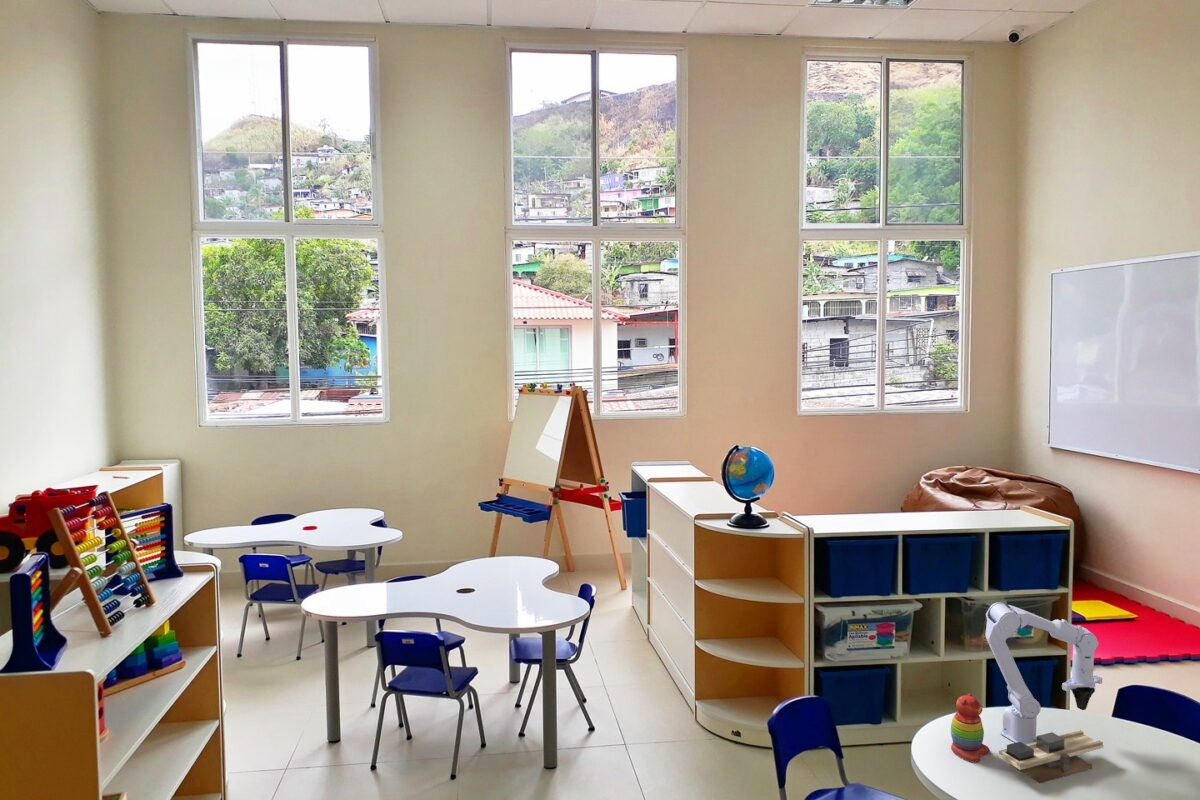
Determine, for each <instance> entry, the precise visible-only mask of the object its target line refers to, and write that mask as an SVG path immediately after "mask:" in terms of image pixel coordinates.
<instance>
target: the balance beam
mask: <svg viewBox="0 0 1200 800" xmlns="http://www.w3.org/2000/svg"><path fill="white" fill-rule="evenodd" d="M1059 736H1060V737H1062V738H1064V739H1065V740H1064V750H1061V751H1057V752H1053V753H1049V754H1047V753H1045V752H1044V751H1042V750H1040V749H1039V748H1037V747H1036V743H1037V742H1033V743H1029V744H1025V745H1027V746H1029V747H1030V748H1032V749H1034V758H1030V759H1026V760H1022V761H1018V760H1016V759H1014V758H1013V757H1011V756H1010V755H1008V754H1007V748H1006V749H1002V750H998V757H999V758H1000V759H1002V760H1003V761H1005V762H1006V763H1008V764H1009V765H1010V764H1011V765H1010V766H1012V765H1013V766H1015V767H1016V768H1015V767H1014V768H1015V769H1017V768H1018V769H1019V770H1018V769H1017V770H1018V771H1020V770H1022V769H1025V768H1029V767H1033V766H1037V765H1041V764H1044V763H1048V762H1052V761H1056V760H1060V759H1061V755H1063V754H1068V755H1069V756H1070V757H1071V756H1075V755H1076V756H1077V755H1083V754H1086V753H1089V752H1090V753H1091V752H1093V751H1096V750H1097V751H1098V750H1101V749H1104V742H1103V741H1102V740H1094V739H1093V738H1091V737H1090V736H1087V735H1085V734H1084V731H1083V730H1078V731H1077V730H1076V731H1073V732H1069V733H1065V734H1061V735H1059ZM1013 766H1012V767H1013Z"/></svg>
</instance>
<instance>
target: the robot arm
mask: <svg viewBox="0 0 1200 800" xmlns="http://www.w3.org/2000/svg"><path fill="white" fill-rule="evenodd" d="M985 616H986V628H985V638H986V641H987V643H988V646H989V648H990V650H991V652H992V654H993V656H994V658H995V662H996V663H997V665H998V667H999V670H1000V672H1001V674H1002V676H1003V678H1004V680H1005V683H1006V684H1007V686H1006V689H1007V691H1008V696H1007V698H1008V700H1009V702H1010V703H1011V705H1009V706H1007V707H1005V708H1004V711H1003V714H1002V731H1001V732H1000V735H1001V736H1003V737H1005V738H1007V739H1008V740H1010V741H1011V742H1013V743H1016V742H1022V743H1023V744H1029V743H1033V742H1034V739H1037V722H1038V721H1037V717H1038V716H1039V714H1040V713H1041V709H1042V708H1041V704H1040V702H1039V701H1037V699H1035V698H1034V696H1033V694H1032V693H1031V691H1030V690H1029V688H1028V686H1027V685H1026V683H1025V681H1024V679H1023V676H1022V675H1021V672H1020V670H1019V668H1018V666H1017V664H1016V662H1015V659H1014V657H1013V655H1012V653H1011V651H1010V648H1009V647H1008V644H1007V642H1006V641H1007V639H1008V638H1010V636H1012V635H1013V634H1014V633H1015V632H1016V631H1017V630H1018V629H1019V628H1020V629H1023V628H1024V627H1026V626H1031V627H1034V628H1036V629H1039V630H1043V631H1046V632H1048V633H1049V634H1050V636H1051V638H1054V639H1056V640H1059V641H1062V642H1066V643H1068V644H1070V645H1072V666H1071V670H1072V671H1071V678H1069V679H1068V680H1066V681H1065V682H1062V685H1061V689H1062V690H1063V691H1066V692H1070V691H1071V693H1072V695H1073V697H1074V700H1075V704H1076V708H1078V709H1079V710H1081V711H1085V710H1087V707H1088V704H1089V702H1090V700H1091V697H1092V696H1093V694H1094V693H1095V692H1096V684H1099V685H1101V684H1103V677H1102V676H1099V675H1097V674H1096V675H1094V665H1095V664H1094V661H1095V659H1094V658H1095V650H1096V649H1097V648H1098V646H1099V641H1098V639H1097V637H1096V635H1095V634H1094V633H1092V632H1091V631H1089V629H1087V628H1086V627H1083V626H1082V625H1079V624H1077V625H1075V624H1071V623H1069V622H1068V621H1067V620H1066V619H1063V618H1062V619H1061V620H1060V619H1054V620H1052V621H1051V620H1050V619H1046V618H1044V617H1042V616H1039V615H1036V614H1034V613H1032V612H1030V611H1027V610H1025V609H1022V608H1019V607H1017V606H1014V605H1011V604H1005V603H1004V602H1001V601H1000V602H999V601H998V602H995V603H992V604H991V606H990V607H989V608H988V610H987V611H986V613H985Z"/></svg>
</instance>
